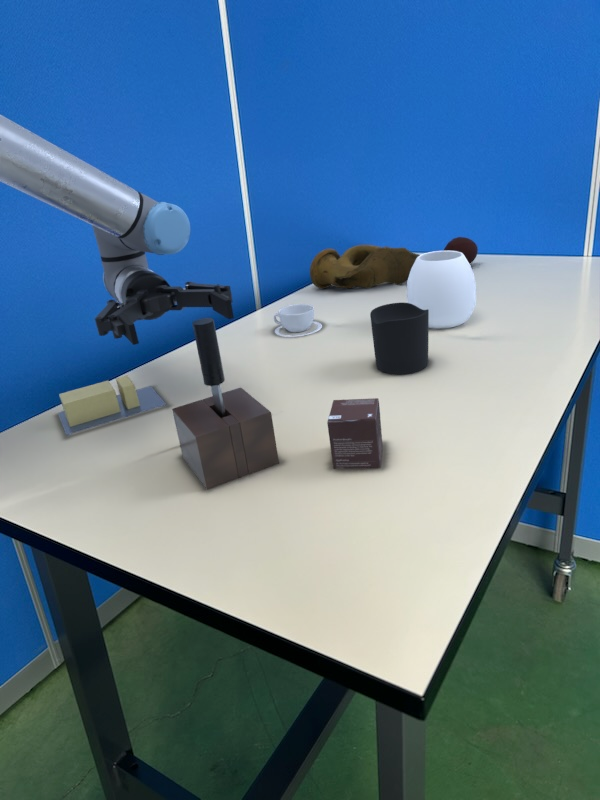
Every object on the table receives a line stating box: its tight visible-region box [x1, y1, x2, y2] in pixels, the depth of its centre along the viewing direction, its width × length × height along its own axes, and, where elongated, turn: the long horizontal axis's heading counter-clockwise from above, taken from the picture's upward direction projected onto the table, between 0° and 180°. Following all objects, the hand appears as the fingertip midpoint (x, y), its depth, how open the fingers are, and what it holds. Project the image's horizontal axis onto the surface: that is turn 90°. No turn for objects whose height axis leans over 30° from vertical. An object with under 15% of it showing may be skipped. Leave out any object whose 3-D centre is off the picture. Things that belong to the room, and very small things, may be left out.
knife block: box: [171, 387, 280, 490], centre depth 82 cm, size 10×10×8 cm
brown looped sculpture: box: [309, 244, 421, 290], centre depth 151 cm, size 18×13×22 cm
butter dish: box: [57, 385, 167, 436], centre depth 103 cm, size 16×10×1 cm, turn 117°
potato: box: [443, 236, 479, 265], centre depth 159 cm, size 8×9×8 cm
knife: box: [191, 317, 226, 418], centre depth 79 cm, size 3×3×20 cm
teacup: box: [273, 303, 323, 338], centre depth 129 cm, size 10×10×5 cm
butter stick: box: [58, 380, 121, 427], centre depth 100 cm, size 8×5×4 cm, turn 117°
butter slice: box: [115, 374, 140, 409], centre depth 103 cm, size 2×5×4 cm, turn 27°
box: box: [326, 397, 384, 470], centre depth 79 cm, size 6×6×7 cm
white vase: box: [406, 250, 477, 330], centre depth 121 cm, size 13×13×14 cm
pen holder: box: [369, 302, 430, 376], centre depth 104 cm, size 9×9×10 cm
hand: (183, 321), depth 84 cm, fingers open, 13 cm apart
